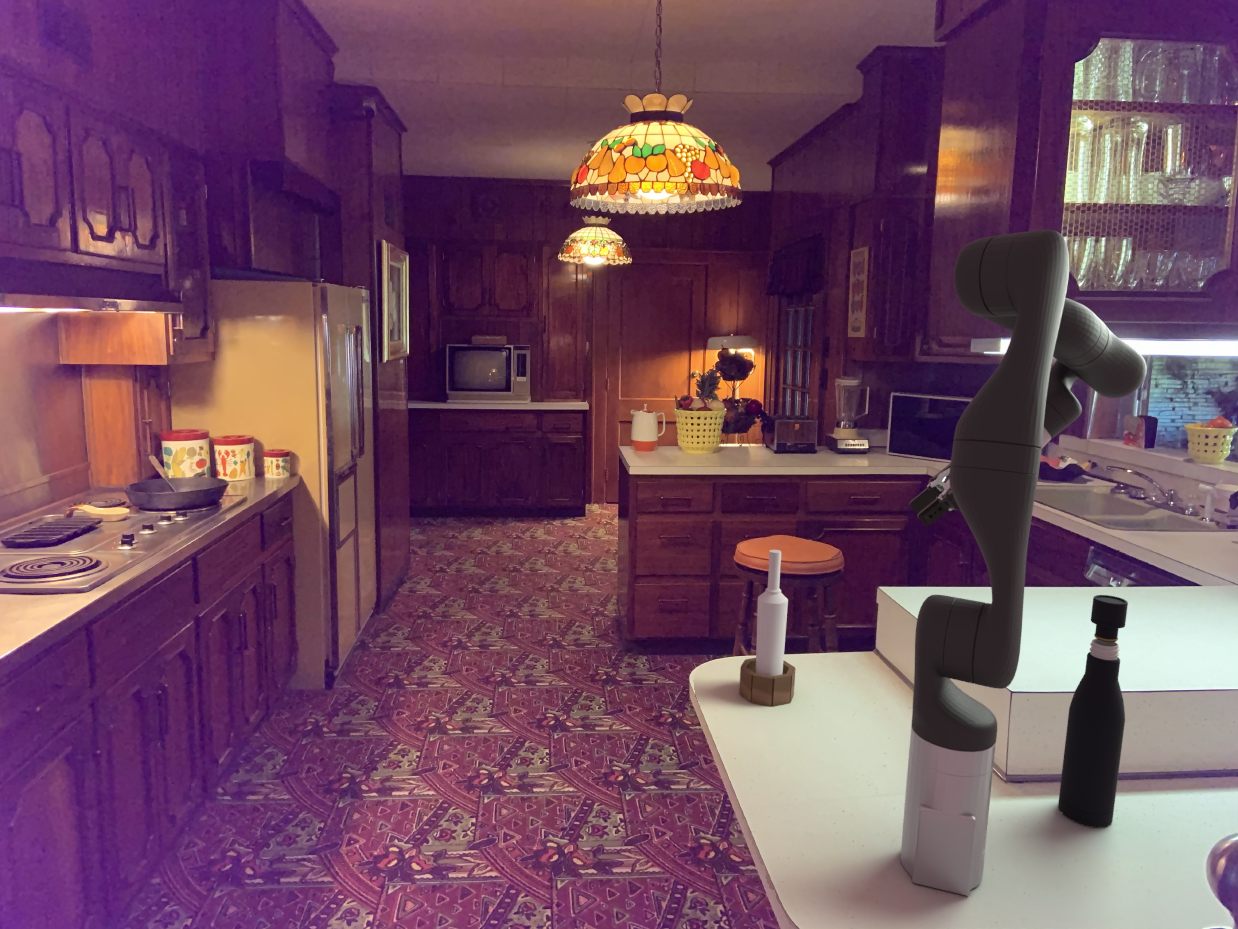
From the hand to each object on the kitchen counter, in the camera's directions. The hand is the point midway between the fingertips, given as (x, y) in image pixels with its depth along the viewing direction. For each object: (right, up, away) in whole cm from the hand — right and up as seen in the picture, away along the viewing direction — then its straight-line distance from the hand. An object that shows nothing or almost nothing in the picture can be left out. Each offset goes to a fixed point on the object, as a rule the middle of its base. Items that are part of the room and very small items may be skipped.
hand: (917, 515), depth 124 cm
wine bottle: (+18, -40, -12) cm, 45 cm away
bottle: (-18, -32, +23) cm, 43 cm away
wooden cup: (-18, -33, +23) cm, 44 cm away
